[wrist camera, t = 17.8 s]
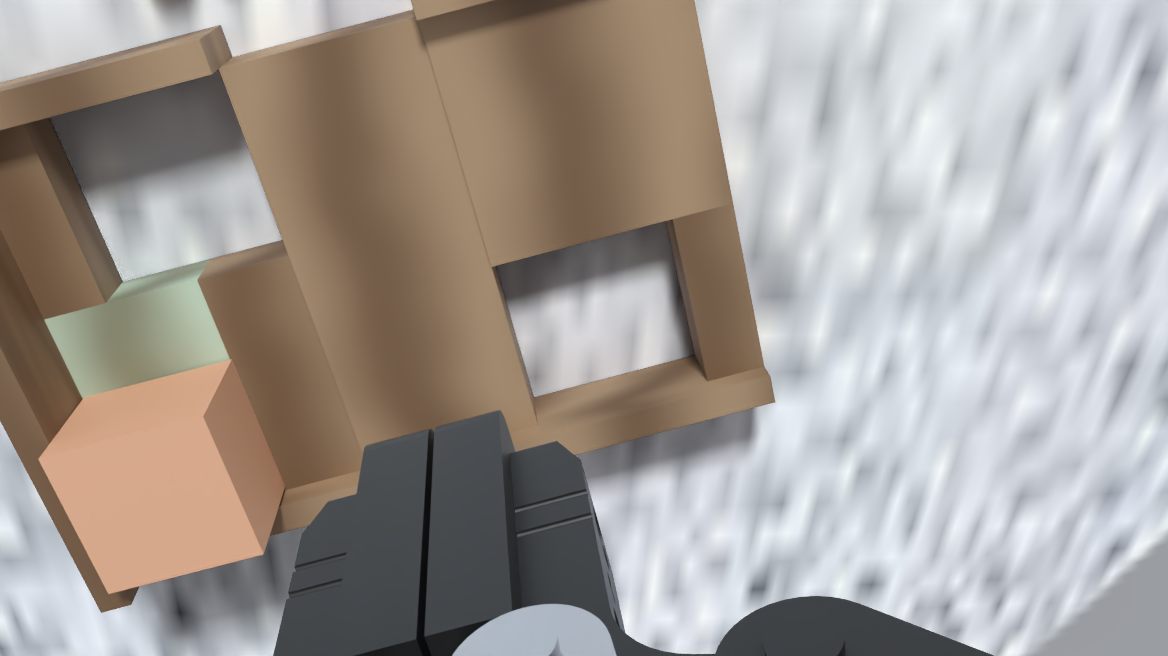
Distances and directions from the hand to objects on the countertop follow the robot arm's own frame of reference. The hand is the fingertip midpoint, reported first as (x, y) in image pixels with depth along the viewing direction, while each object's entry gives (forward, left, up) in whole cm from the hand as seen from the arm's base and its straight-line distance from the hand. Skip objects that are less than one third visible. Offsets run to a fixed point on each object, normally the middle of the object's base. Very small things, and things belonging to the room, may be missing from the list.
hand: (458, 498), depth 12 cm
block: (+12, +9, -23) cm, 27 cm away
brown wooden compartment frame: (+4, +5, -25) cm, 26 cm away
